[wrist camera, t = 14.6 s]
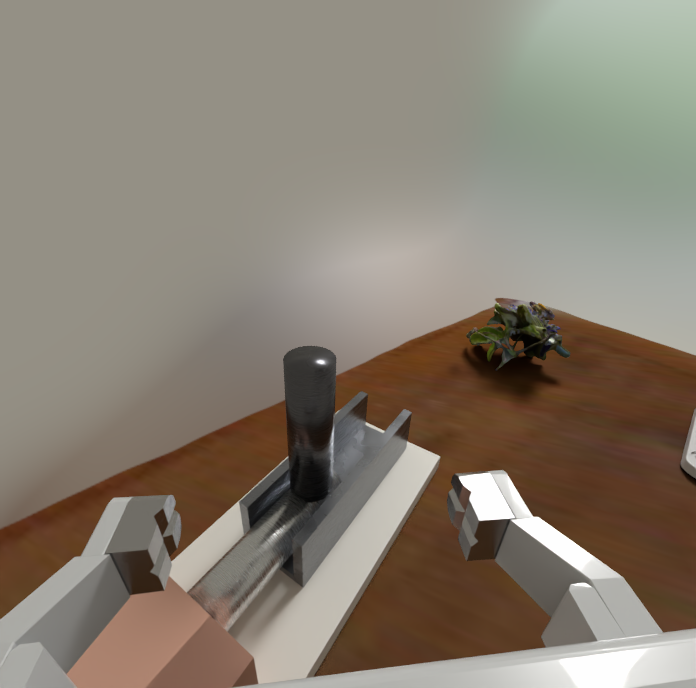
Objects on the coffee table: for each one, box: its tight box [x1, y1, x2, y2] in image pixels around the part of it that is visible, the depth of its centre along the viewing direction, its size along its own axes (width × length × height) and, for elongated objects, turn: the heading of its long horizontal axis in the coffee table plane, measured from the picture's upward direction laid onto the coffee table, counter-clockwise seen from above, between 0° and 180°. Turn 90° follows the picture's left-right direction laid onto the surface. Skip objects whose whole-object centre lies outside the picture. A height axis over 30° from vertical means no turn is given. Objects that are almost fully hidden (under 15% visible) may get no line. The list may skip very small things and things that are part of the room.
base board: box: [169, 410, 440, 684], centre depth 29 cm, size 30×12×2 cm, turn 146°
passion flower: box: [466, 302, 570, 371], centre depth 54 cm, size 11×11×12 cm
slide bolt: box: [187, 346, 342, 632], centre depth 22 cm, size 16×3×14 cm, turn 146°
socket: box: [67, 576, 258, 688], centre depth 18 cm, size 6×10×6 cm, turn 56°
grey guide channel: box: [239, 391, 412, 588], centre depth 31 cm, size 16×6×5 cm, turn 146°
